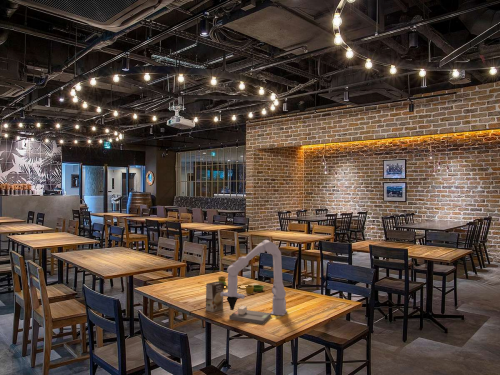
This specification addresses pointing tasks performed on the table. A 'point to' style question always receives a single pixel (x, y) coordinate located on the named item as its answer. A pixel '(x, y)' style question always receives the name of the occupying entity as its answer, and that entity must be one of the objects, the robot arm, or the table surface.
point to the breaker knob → (242, 310)
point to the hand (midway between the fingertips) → (232, 309)
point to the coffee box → (214, 296)
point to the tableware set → (248, 288)
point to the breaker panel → (251, 317)
